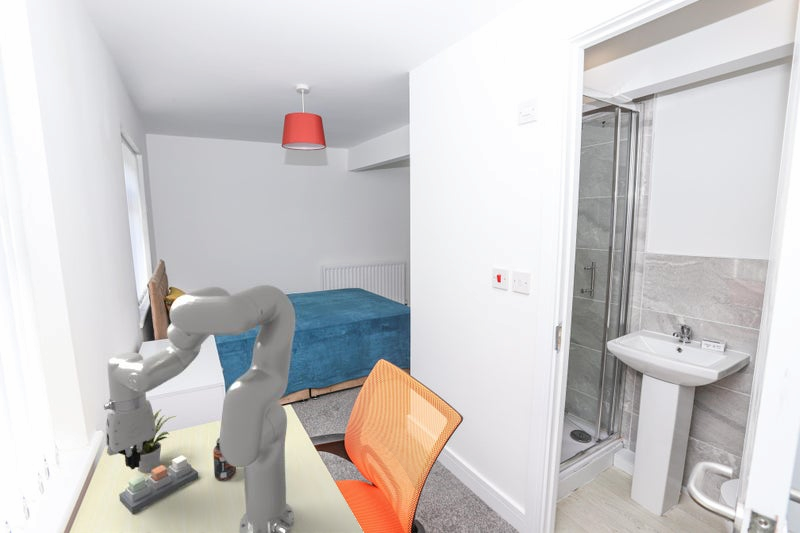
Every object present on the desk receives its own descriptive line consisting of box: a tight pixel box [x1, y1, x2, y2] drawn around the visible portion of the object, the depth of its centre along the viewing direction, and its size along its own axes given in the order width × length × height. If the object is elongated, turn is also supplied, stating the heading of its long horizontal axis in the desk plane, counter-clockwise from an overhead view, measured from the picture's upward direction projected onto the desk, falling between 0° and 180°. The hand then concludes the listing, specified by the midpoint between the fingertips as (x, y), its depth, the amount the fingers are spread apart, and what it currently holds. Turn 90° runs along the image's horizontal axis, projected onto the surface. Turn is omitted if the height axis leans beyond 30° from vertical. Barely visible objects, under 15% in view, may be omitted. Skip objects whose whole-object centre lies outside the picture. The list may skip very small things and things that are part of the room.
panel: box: [118, 461, 199, 515], centre depth 110 cm, size 8×17×4 cm, turn 145°
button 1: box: [128, 475, 146, 493], centre depth 106 cm, size 3×3×2 cm
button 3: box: [171, 454, 188, 471], centre depth 114 cm, size 3×3×2 cm
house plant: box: [130, 409, 176, 474], centre depth 120 cm, size 14×14×16 cm
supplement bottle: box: [212, 437, 237, 481], centre depth 116 cm, size 6×6×11 cm
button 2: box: [150, 464, 168, 482], centre depth 110 cm, size 3×3×2 cm
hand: (133, 466), depth 105 cm, fingers closed
